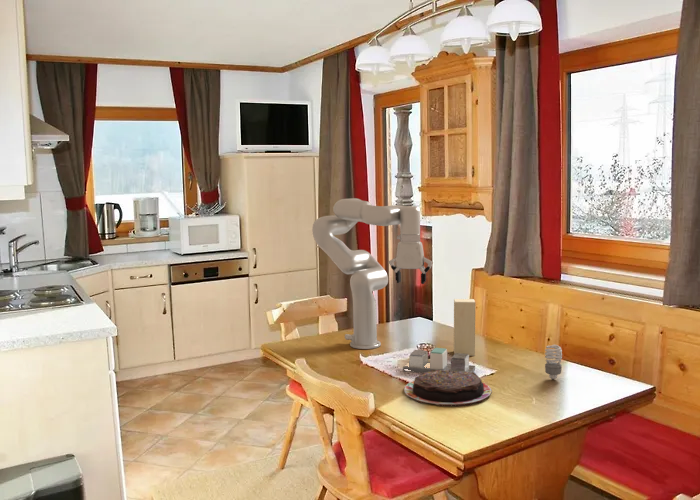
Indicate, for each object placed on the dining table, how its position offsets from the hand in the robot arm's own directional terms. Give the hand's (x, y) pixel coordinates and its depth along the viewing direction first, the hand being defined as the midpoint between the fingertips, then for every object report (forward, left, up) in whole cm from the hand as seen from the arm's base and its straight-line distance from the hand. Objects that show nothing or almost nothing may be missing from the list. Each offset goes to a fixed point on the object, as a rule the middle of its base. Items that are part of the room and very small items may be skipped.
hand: (410, 283), depth 255 cm
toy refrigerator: (+19, +8, -28) cm, 35 cm away
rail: (+15, -17, -28) cm, 36 cm away
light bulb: (+54, -16, -28) cm, 63 cm away
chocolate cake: (+23, -39, -29) cm, 54 cm away
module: (+15, -17, -27) cm, 35 cm away
